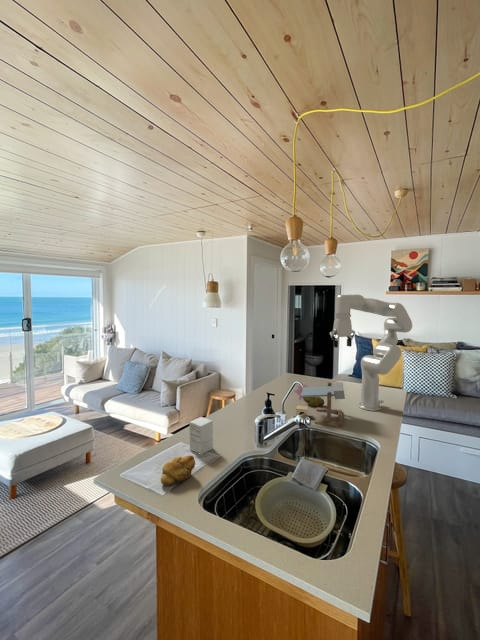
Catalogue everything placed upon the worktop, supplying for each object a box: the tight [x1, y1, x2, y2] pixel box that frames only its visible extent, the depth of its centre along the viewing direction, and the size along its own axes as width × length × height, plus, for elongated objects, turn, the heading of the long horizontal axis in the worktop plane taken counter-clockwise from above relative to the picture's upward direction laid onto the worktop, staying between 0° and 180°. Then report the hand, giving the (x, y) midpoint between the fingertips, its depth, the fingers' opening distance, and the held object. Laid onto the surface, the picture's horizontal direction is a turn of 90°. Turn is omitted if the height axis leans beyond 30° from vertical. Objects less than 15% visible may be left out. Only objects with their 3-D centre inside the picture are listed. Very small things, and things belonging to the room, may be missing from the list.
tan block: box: [295, 405, 309, 416], centre depth 172 cm, size 5×5×6 cm
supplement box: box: [189, 416, 214, 455], centre depth 133 cm, size 7×7×13 cm
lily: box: [292, 382, 309, 401], centre depth 201 cm, size 12×12×10 cm
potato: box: [302, 397, 325, 407], centre depth 189 cm, size 8×13×8 cm, turn 48°
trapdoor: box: [301, 381, 346, 400], centre depth 170 cm, size 22×16×4 cm
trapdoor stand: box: [314, 382, 344, 428], centre depth 169 cm, size 14×22×17 cm, turn 163°
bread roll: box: [160, 455, 196, 487], centre depth 112 cm, size 13×10×8 cm
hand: (342, 346), depth 175 cm, fingers open, 9 cm apart
